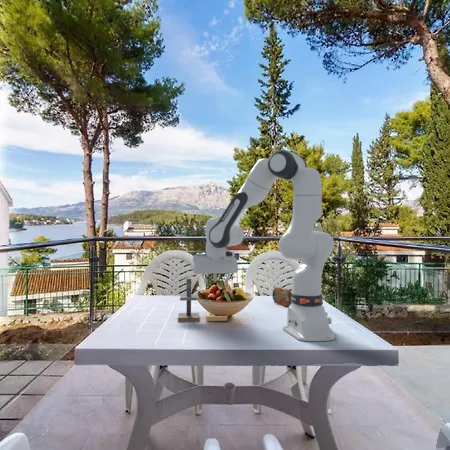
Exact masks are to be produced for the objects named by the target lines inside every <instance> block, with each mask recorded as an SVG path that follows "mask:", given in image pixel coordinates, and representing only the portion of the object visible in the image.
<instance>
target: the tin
mask: <svg viewBox="0 0 450 450" xmlns="http://www.w3.org/2000/svg"><path fill="white" fill-rule="evenodd" d="M271 294H272V300H273V302H274V304H276V303H277V305H279V306H282V307H290V306H291V304H292V302H291V296H292V291H291V290H289V289H287V288H284V287H274V289H273V290H272V293H271Z"/></svg>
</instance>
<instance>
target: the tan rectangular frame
mask: <svg viewBox="0 0 450 450" xmlns="http://www.w3.org/2000/svg"><path fill="white" fill-rule="evenodd" d="M205 320H206V322H219V321H220V322H223V321H225V322H227V321H228V315H227V316H215V315H212V314H210V313H209V312H208V310H207V311H205Z"/></svg>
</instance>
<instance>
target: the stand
mask: <svg viewBox="0 0 450 450" xmlns="http://www.w3.org/2000/svg"><path fill="white" fill-rule="evenodd" d="M185 289H186V293H185V294H182V293H181V294H180V297H179V301H180V302H181V301H185V302H186V312H179V313H178V316H177V322H179V323H180V322H181V323H182V322H200V312H192V301H198V295H197V296H196V295H195V294H196V293H192V278H186V288H185Z"/></svg>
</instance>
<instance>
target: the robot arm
mask: <svg viewBox="0 0 450 450" xmlns="http://www.w3.org/2000/svg"><path fill="white" fill-rule="evenodd" d="M278 179H282V180H286V181H290V182H291V183H292V187H293V189H292V190H293V193H292V194H293V195H292V197H293V199H292V201H293V202H292V203H293V204H292V215H291V219H290V223H289V225H288V228H287V229H286V231H285V233H283V235H281V237H280V239H279V241H278V250H279V252H280V254H281V255H282V256H283V258H285V259H290V260H295V261H297V260H300V263H299V266H298V267H297V268H296V269H295V270H294V271H293V274H292V291H291V293H292V296H291V302H292V304H291V305H290V306H288V307H287V314H286V325H283V327H282V330H283V331H285V332H286V333H288V334H289V335H291V336H292V337H293V338H295V339H297V340H298V341H304V342H328V341H334V340H336V335H335V334H334V332H333V330H332V327H331V326H330V325H332V323H333V322H332V317H328V312H327V311H325V310H326V309H325V307H324V306H323V305H324V301H323V300H324V299H323V293H322V276H323V270H324V267H325V264H326V261H327V259H328V257H329V256H330V255H331V254H332V252H333V251H334V248H335V241H334V237H332V235H331V234H330V233H329V232H325V231H322V230H314V227H315V224H316V222H317V221H318V220H319V219H320V218H321V217H322V214H323V213H322V211H323V209H322V208H323V207H322V206H323V203H322V202H323V201H322V200H323V197H322V196H323V194H322V193H323V188H322V180H321V175H320V172H319V170H317V169H315V168H313V167H308V164H307V162H306V161H305V159H304V158H303V157H302V156H300V155H298V154H297V153H295V152H292V151H288V150H286V149H285V150H284V149H283V150H281V149H279V150H276V151H274V152H272V153H271V154H270V156H269V157H268V158H266V157H265V158H264V157H263V158H260V159H258V160H257V161H256V163H255V164H254V166H253V167H251V169H250V172H249V174H248V175H247V177H246V179H245V181H244V182H243V184H242V186H241V188H240V189H239V190H238V191H237V192H236V194H234V196H233V197H232V199H231V200H230V201H229V203H228V205H227V207H226V208H225V210H224V212H223V213H222V215H221V216H218V217H217V216H216V217H211V218H209V219H208V220H207V221H206V225H205V240H206V243H205V252H201V253H199V252H196V253H195V254H193V256H192V262H193V273H194V274H195V275H199V274H200V275H201V277H202V279H203V284H207V285H208V279H206V277H205V276H206V275H207V274H226V275H227V277H226V278H224V284H228V283H229V279H230V277H231V274H236V273H238V271H239V266H238V265H239V264H238V259H237V258H236V253H235V251H233V250H229V249H227V248H226V247H233V246H234V247H235V246H238V245H240V244H242V242H243V241H244V239H245V232H244V229H243V228H242V227H241V226H240V225H239V224H235V223H236V222H237V220H238V218H239V217H240V216H241V214H242V213H243V212H244V211H245V210H247V209H249V208H251V207H252V206H256V205H258V204H260V203H262V202H263V201H264V200H265V198H266V197H267V196H268V194H269V192H270V191H271V189H272V186H273V185H274V183H275V181H277V180H278Z"/></svg>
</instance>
